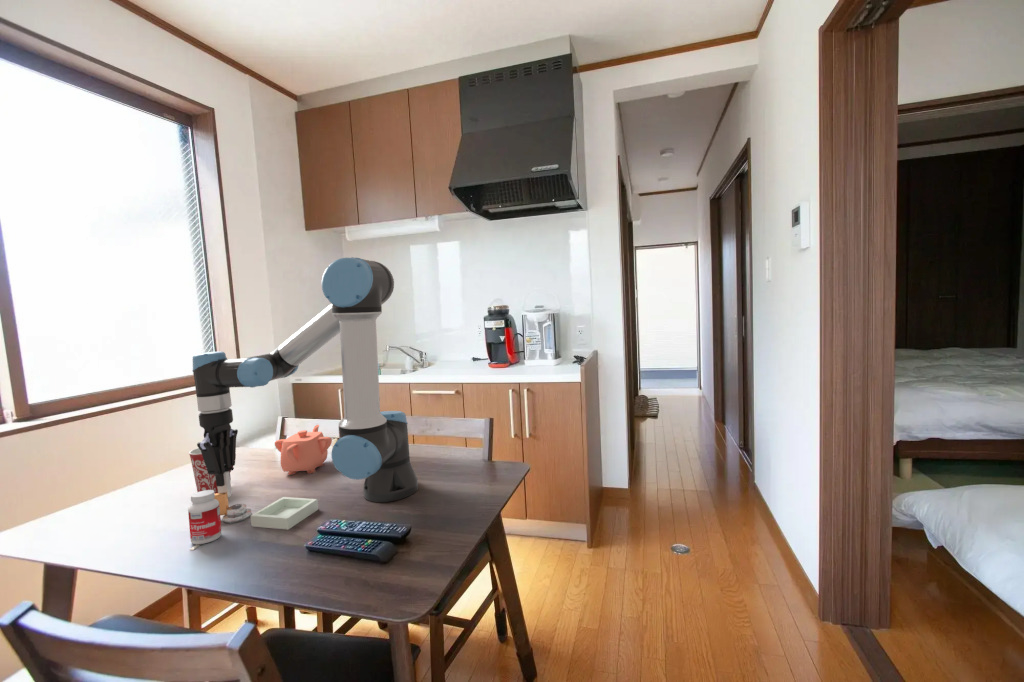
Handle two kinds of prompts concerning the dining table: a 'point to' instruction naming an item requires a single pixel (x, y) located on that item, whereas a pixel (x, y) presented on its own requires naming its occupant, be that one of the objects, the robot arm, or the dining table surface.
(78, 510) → the dining table surface
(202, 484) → the mug
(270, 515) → the tray
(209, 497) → the pill bottle
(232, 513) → the tan and grey pieces
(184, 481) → the dining table surface
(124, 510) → the dining table surface
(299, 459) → the pink toy figure
